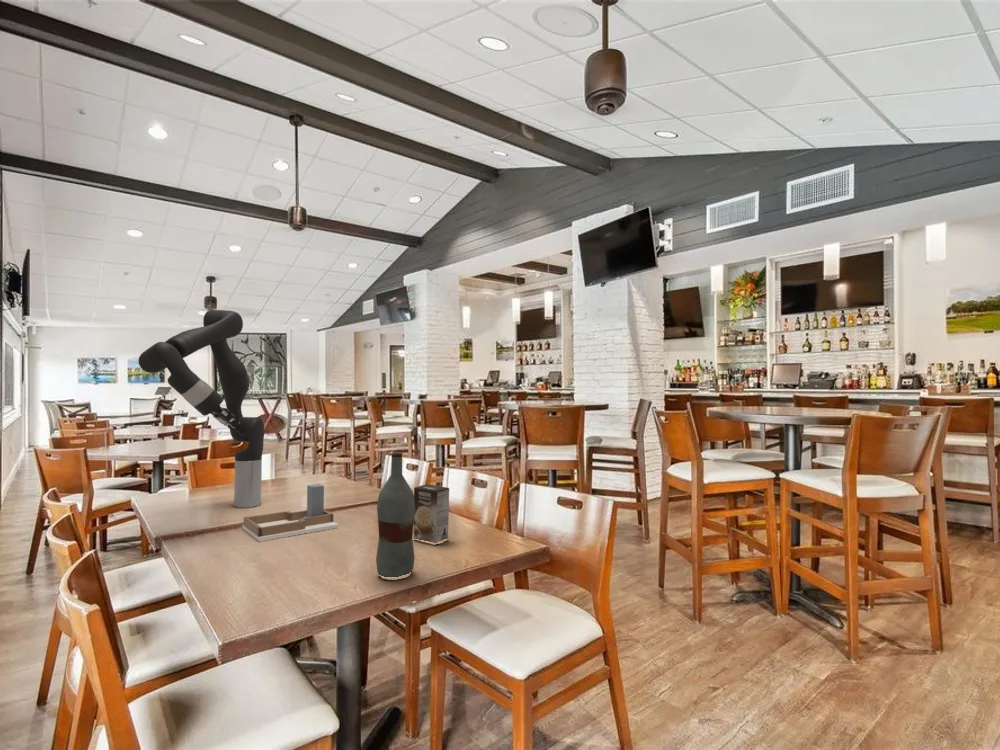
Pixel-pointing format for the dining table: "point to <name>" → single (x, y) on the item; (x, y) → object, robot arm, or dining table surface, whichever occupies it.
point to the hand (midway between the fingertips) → (242, 432)
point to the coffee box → (431, 513)
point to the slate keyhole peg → (315, 500)
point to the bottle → (395, 524)
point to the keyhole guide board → (286, 524)
